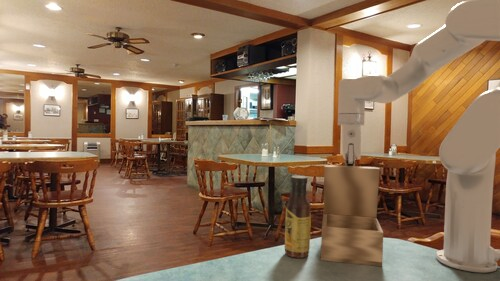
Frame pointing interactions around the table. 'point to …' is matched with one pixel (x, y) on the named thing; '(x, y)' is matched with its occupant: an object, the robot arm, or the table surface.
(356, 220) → the box
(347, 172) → the lid
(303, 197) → the sauce bottle
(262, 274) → the table surface
